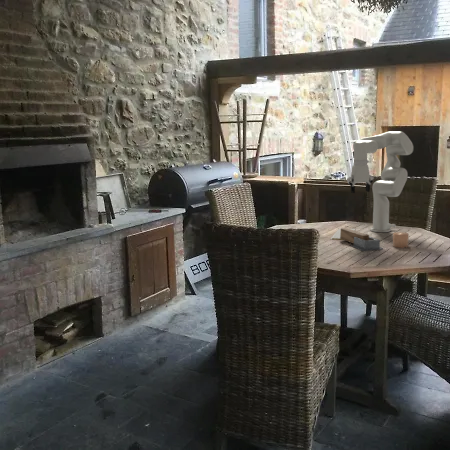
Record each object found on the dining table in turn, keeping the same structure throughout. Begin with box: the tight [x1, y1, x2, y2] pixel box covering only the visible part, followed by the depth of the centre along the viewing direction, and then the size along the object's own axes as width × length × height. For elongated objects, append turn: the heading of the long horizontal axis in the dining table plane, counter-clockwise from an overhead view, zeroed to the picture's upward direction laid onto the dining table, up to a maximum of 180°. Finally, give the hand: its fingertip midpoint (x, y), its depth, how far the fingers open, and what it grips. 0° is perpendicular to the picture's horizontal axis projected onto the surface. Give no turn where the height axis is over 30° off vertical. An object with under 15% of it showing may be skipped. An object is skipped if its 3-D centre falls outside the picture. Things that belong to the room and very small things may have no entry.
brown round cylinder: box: [392, 231, 410, 249], centre depth 284 cm, size 8×8×7 cm
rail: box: [340, 227, 370, 244], centre depth 292 cm, size 4×20×6 cm, turn 24°
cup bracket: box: [349, 235, 384, 252], centre depth 283 cm, size 12×14×5 cm
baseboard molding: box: [330, 225, 356, 241], centre depth 318 cm, size 31×3×12 cm
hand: (360, 192), depth 305 cm, fingers open, 9 cm apart
